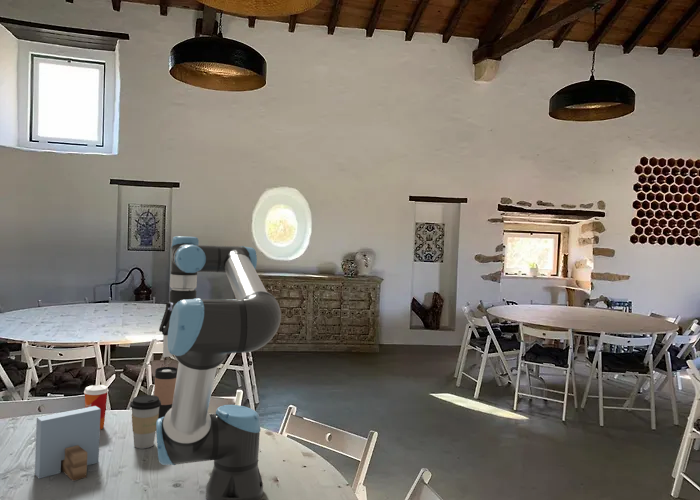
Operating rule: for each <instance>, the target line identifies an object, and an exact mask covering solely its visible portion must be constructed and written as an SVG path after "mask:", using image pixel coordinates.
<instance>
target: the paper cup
mask: <svg viewBox="0 0 700 500" xmlns="http://www.w3.org/2000/svg"><path fill="white" fill-rule="evenodd" d="M83 393H84V408H87V407H92V406H97V407H98V408H100V409H101V413H100V431H101V430H103V429H104V426H105V422H106V421H105V419H106V418H105V417H106V411H107V400H108V393H109V389H108V386H107V385H106V384H105V385H104V384H96V385H95V384H94V385H93V384H91V385H89V386H86V387H85V388H84V391H83Z"/></svg>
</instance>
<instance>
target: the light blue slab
mask: <svg viewBox="0 0 700 500" xmlns="http://www.w3.org/2000/svg"><path fill="white" fill-rule="evenodd" d="M100 413H101V409H100V408H98V407H97V406H92V407H87V408H85V407H83V408H79V409H73V410H68V411H62V412H58V413H52V414H47V415H42V416H37V417H36V429H35V454H34V456H35V458H34V475H35V476H36V477H37V478H38V479H43V478H46V477H50V476H53V475H57V474H61V473H62V470H61V460H65V448H69V447H73V446H77V445H78V446H80V447H81V448H82V449H84V450H85V451H86V452H87V466H91V465H93V464H98V463H100V462H99V461H100V459H99V457H100V454H99V453H100V436H101V435H100V434H101V433H100V431H101V430H100Z"/></svg>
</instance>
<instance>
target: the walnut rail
mask: <svg viewBox="0 0 700 500" xmlns="http://www.w3.org/2000/svg"><path fill="white" fill-rule="evenodd" d="M87 470H88V465H87V452H86V451H85V450H84V449H82V448H81V447H80V446H78V445H77V446H73V447H69V448H65V460H61V472H63V473H64V475H66V476H67V477H68V478H69V479H70V480H71V481H72V482H75V481H79V480H83V479H86V478H87V475H88V474H87V472H88V471H87Z"/></svg>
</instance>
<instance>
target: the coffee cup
mask: <svg viewBox="0 0 700 500" xmlns="http://www.w3.org/2000/svg"><path fill="white" fill-rule="evenodd" d="M159 406H161V401H160V400H159V397H157V396H154V394H142V395H138V396H137V395H136V396H134V397H133V398H132V401H131V402H130V404H129V407H130V408H131V424H132V432H133V435H132V436H133V445H134V448H136V449H141V450H142V449H143V450H144V449H148V448H150V447H152V446H154V444H155V438H156V434H157V433H156V422H157V419H158V416H159Z"/></svg>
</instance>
